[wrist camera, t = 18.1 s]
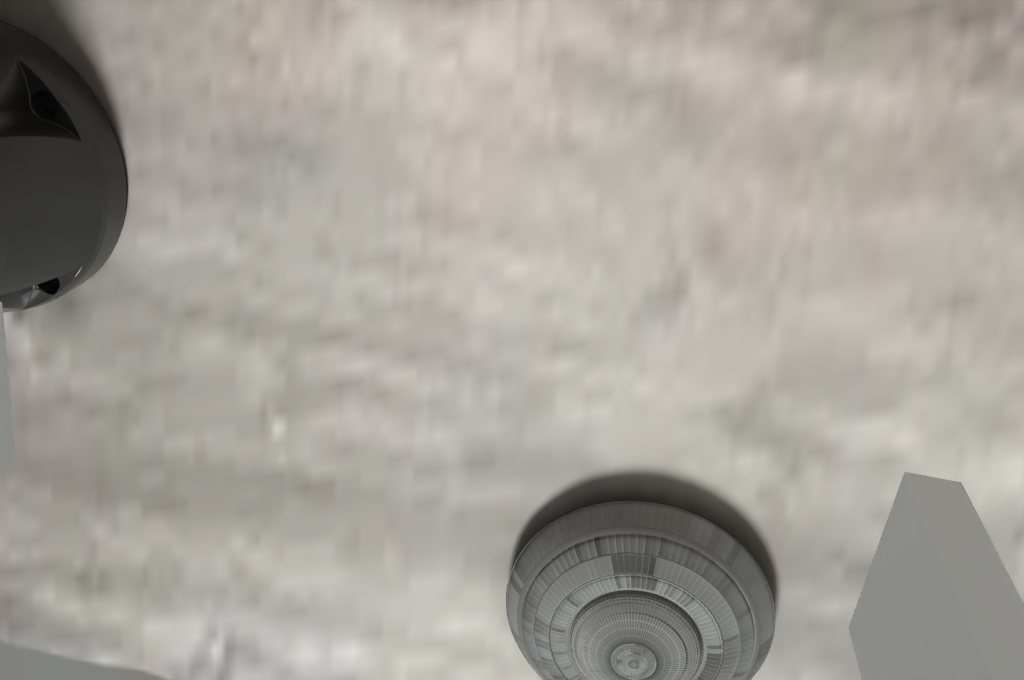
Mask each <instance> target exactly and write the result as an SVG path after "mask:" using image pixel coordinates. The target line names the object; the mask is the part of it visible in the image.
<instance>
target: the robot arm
mask: <svg viewBox="0 0 1024 680" xmlns="http://www.w3.org/2000/svg"><path fill="white" fill-rule="evenodd" d="M126 199H127V189H126V176H125V169H124V164H123V159H122V155H121V151H120V148H119V145H118V142H117V139H116V136H115V133H114V131H113V129H112V126H111V124H110V122H109V120H108V118H107V116H106V114H105V112H104V110H103V109H102V107H101V105H100V104H99V102H98V100H97V99H96V97H95V96H94V94H93V93H92V91H91V90H90V89H89V87H88V86H87V85H86V83H85V82H84V81H83V80H82V78H81V77H80V76H79V75H78V74H77V73H76V72H75V71H74V70H73V68H72V67H71V66H70V65H69V64H68V63H67V62H66V61H64V60H63V59H62V58H61V57H60V56H59V55H58V54H57V53H55V52H54V51H53V50H52V49H50V48H49V47H48V46H46V45H45V44H43V43H42V42H41V41H39V40H38V39H36V38H34V37H33V36H31V35H29V34H28V33H26V32H24V31H22V30H20V29H18V28H16V27H13V26H11V25H9V24H6V23H3V22H1V21H0V475H1V474H2V473H3V472H4V471H6V470H7V469H8V468H9V467H10V466H11V465H13V464H14V463H15V462H16V461H17V457H16V446H15V435H14V425H13V414H12V403H11V393H10V382H9V371H8V360H7V350H6V339H5V328H4V317H3V312H10V311H19V310H25V309H29V308H33V307H37V306H40V305H43V304H45V303H48V302H51V301H53V300H55V299H57V298H59V297H60V296H62V295H64V294H65V293H67V292H69V291H70V290H72V289H74V288H75V287H77V286H79V285H80V284H82V283H84V282H85V281H86V280H88V279H89V278H90V277H92V276H93V275H94V274H95V273H96V272H97V271H98V270H99V269H100V268H101V267H102V266H103V264H104V263H105V262H106V261H107V259H108V258H109V256H110V255H111V253H112V251H113V249H114V247H115V245H116V244H117V241H118V239H119V236H120V233H121V230H122V227H123V222H124V218H125V211H126ZM849 630H850V634H851V638H852V642H853V646H854V650H855V654H856V658H857V662H858V666H859V669H860V673H861V677H862V680H1024V604H1023V602H1022V600H1021V598H1020V596H1019V594H1018V592H1017V590H1016V588H1015V586H1014V584H1013V582H1012V580H1011V578H1010V576H1009V574H1008V572H1007V571H1006V569H1005V567H1004V565H1003V563H1002V561H1001V559H1000V557H999V555H998V553H997V551H996V549H995V547H994V545H993V543H992V541H991V539H990V537H989V535H988V533H987V532H986V530H985V528H984V526H983V524H982V522H981V520H980V518H979V516H978V514H977V512H976V510H975V508H974V506H973V504H972V502H971V500H970V498H969V496H968V494H967V493H966V491H965V489H964V487H963V485H962V483H961V482H956V481H950V480H945V479H940V478H934V477H929V476H924V475H918V474H913V473H908V472H905V473H904V476H903V478H902V481H901V484H900V487H899V489H898V492H897V495H896V498H895V501H894V503H893V506H892V509H891V512H890V514H889V517H888V520H887V523H886V525H885V528H884V531H883V534H882V537H881V539H880V542H879V545H878V548H877V550H876V553H875V556H874V559H873V562H872V564H871V567H870V570H869V573H868V575H867V578H866V581H865V584H864V586H863V589H862V592H861V595H860V598H859V600H858V603H857V606H856V609H855V611H854V614H853V617H852V620H851V622H850V625H849Z"/></svg>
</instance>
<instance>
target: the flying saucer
mask: <svg viewBox="0 0 1024 680" xmlns="http://www.w3.org/2000/svg"><path fill="white" fill-rule="evenodd" d="M506 609H507V616H508V621H509V625H510V628H511V631H512V634H513V636H514V639H515V641H516V643H517V645H518V647H519V649H520V650H521V652H522V654H523V655H524V657H525V659H526V660H527V661H528V663H529V664H530V665H531V667H532V668H533V669H534V670H535V671H536V673H537V674H538V675H539V676H540V677H541V678H542V679H543V680H751V679H752V678H753V676H754V675H755V674H756V673H757V671H758V670H759V669H760V667H761V666H762V664H763V662H764V660H765V659H766V657H767V654H768V652H769V650H770V647H771V644H772V640H773V636H774V630H775V607H774V601H773V597H772V593H771V590H770V587H769V584H768V582H767V580H766V578H765V576H764V574H763V572H762V570H761V568H760V567H759V565H758V564H757V562H756V561H755V560H754V558H753V557H752V556H751V554H750V553H749V552H748V551H747V550H746V549H745V548H744V547H743V546H742V545H741V544H740V543H739V542H738V541H737V540H736V539H735V538H733V537H732V536H731V535H730V534H728V533H727V532H726V531H724V530H723V529H721V528H720V527H718V526H717V525H715V524H713V523H712V522H710V521H708V520H706V519H704V518H702V517H700V516H698V515H696V514H693V513H691V512H688V511H685V510H683V509H679V508H676V507H672V506H668V505H664V504H658V503H652V502H643V501H616V502H607V503H601V504H596V505H591V506H588V507H584V508H581V509H578V510H575V511H573V512H570V513H568V514H566V515H564V516H562V517H560V518H558V519H556V520H555V521H553V522H551V523H550V524H548V525H547V526H546V527H544V528H543V529H542V530H540V531H539V532H538V533H537V534H536V535H535V536H534V537H533V538H532V539H531V540H530V541H529V542H528V543H527V545H526V546H525V547H524V548H523V550H522V551H521V553H520V554H519V556H518V558H517V559H516V561H515V563H514V565H513V568H512V570H511V573H510V577H509V580H508V585H507V592H506Z"/></svg>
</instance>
